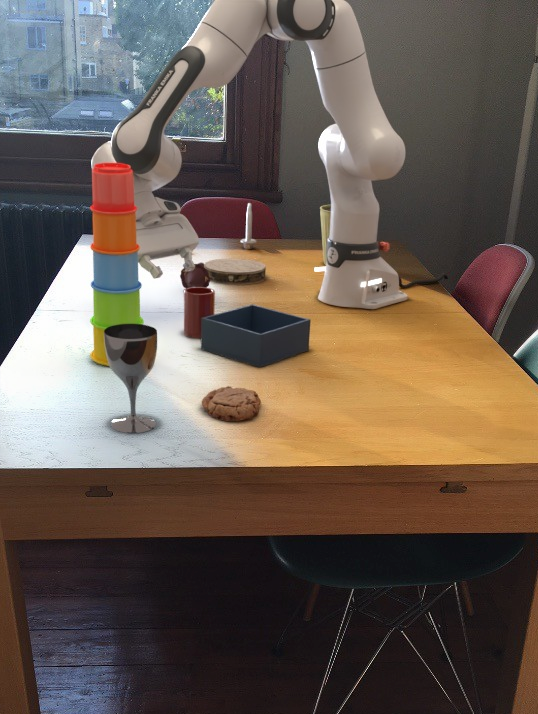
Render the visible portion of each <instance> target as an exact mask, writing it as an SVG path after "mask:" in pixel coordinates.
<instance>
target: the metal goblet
mask: <svg viewBox="0 0 538 714" xmlns="http://www.w3.org/2000/svg"><path fill="white" fill-rule="evenodd" d="M104 344H105V352H106V357H107V360H108V364H109V366H108V367H109V368H110V370H111V371H112V373H113V374H114V375H115V376H116V377H117V378H118V379H119V380H120V381H121V382H122V383H123V385H125V387H126V389H127V393H128V398H129V406H130V415H123V416H119V417H117V418H115V419H113V420H112V421H111V422H110V427H111V428H112V429H113V430H115V431H117V432H121V433H125V434H138V433H139V434H140V433H145V432H148V431H151V430H153V429H155V427H156V426H157V421H156V420H154V418H151V417H149V416H146V415H138V414H137V412H136V406H137V405H136V404H137V403H136V402H137V392H138V389H139V386H140V385H141V383H142V382H143V381H144V380H145V379H146V378H147V376H148V375H149V374H150V373H151V371H152V370H153V368H154V366H155V362H156V359H157V358H156V357H157V354H158V353H157V352H158V329H156V328H155V327H153V326H151V325H147V324H143V325H142V324H119V325H114V326H110V327H108V328H106V329H105V330H104Z"/></svg>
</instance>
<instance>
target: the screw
mask: <svg viewBox="0 0 538 714" xmlns="http://www.w3.org/2000/svg"><path fill="white" fill-rule="evenodd" d="M252 205H253V204H252V203H251V202H248V203H246V206H247V207H246V221H245V224H246V225H245V238H242V239H240V241H239V243H241V244H242V245H243V249H245V250H252V249H254V245H255V244H257V242H258V241H257V240H256V239H254V238H252V235H253V234H252V233H253V232H252V231H253V230H252V227H253V226H252V225H253V224H252V223H253V211H252V207H253V206H252Z"/></svg>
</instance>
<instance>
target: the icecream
mask: <svg viewBox="0 0 538 714" xmlns="http://www.w3.org/2000/svg"><path fill="white" fill-rule="evenodd" d="M194 264H195V268H194V269H193V270H192V271H188V272H187V271H186V270H185V268H184V267H183V268H182V269H181V270H180V274H179V277H180V281H181V285H182V287H183V288H185V289H186V288H190V287H206V288H209V286H210V282H211V281H210V277H209V273H208V271H207V269H206V268H204V264H205V263H204V262H197V263H194Z"/></svg>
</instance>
